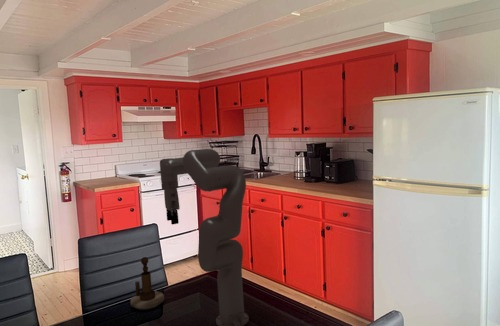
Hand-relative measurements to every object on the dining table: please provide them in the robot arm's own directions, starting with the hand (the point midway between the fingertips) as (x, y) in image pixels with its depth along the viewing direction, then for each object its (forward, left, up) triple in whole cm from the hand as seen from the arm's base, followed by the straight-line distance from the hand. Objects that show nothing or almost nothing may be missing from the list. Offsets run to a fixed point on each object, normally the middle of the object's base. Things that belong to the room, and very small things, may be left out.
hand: (172, 222), depth 178 cm
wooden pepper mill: (-7, +15, -30) cm, 34 cm away
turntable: (-7, +15, -32) cm, 36 cm away
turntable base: (-7, +15, -33) cm, 37 cm away
